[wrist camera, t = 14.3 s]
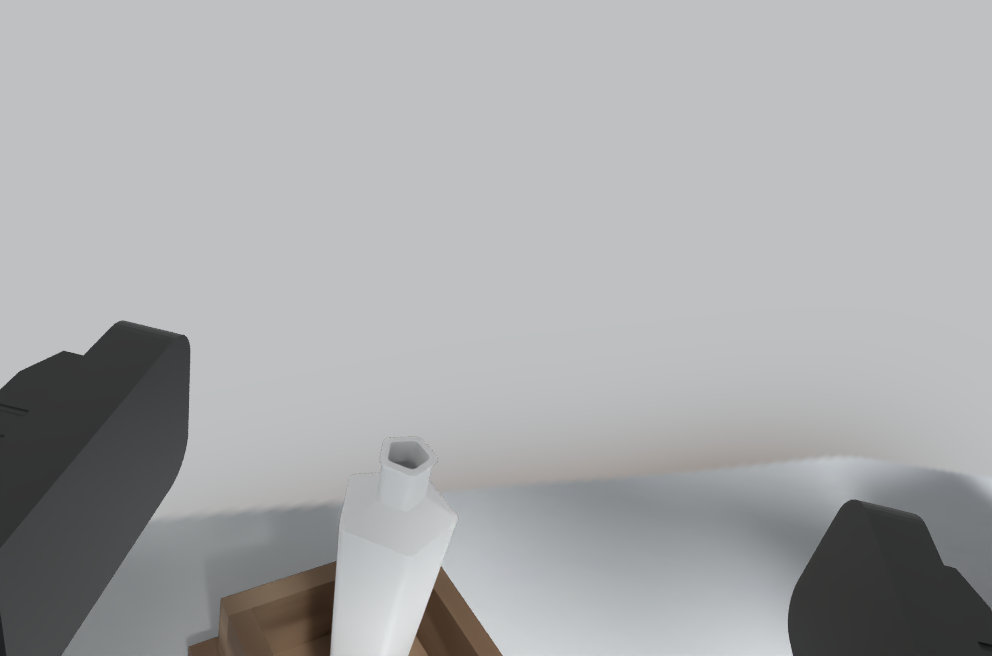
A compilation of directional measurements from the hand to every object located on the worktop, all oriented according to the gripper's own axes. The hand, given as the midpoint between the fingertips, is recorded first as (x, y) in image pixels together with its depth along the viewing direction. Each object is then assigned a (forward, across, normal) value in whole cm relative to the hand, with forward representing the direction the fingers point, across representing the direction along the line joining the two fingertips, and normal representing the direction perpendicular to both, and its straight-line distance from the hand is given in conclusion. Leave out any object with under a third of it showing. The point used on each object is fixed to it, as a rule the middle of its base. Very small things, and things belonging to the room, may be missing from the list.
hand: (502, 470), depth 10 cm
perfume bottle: (+16, +2, +29) cm, 33 cm away
